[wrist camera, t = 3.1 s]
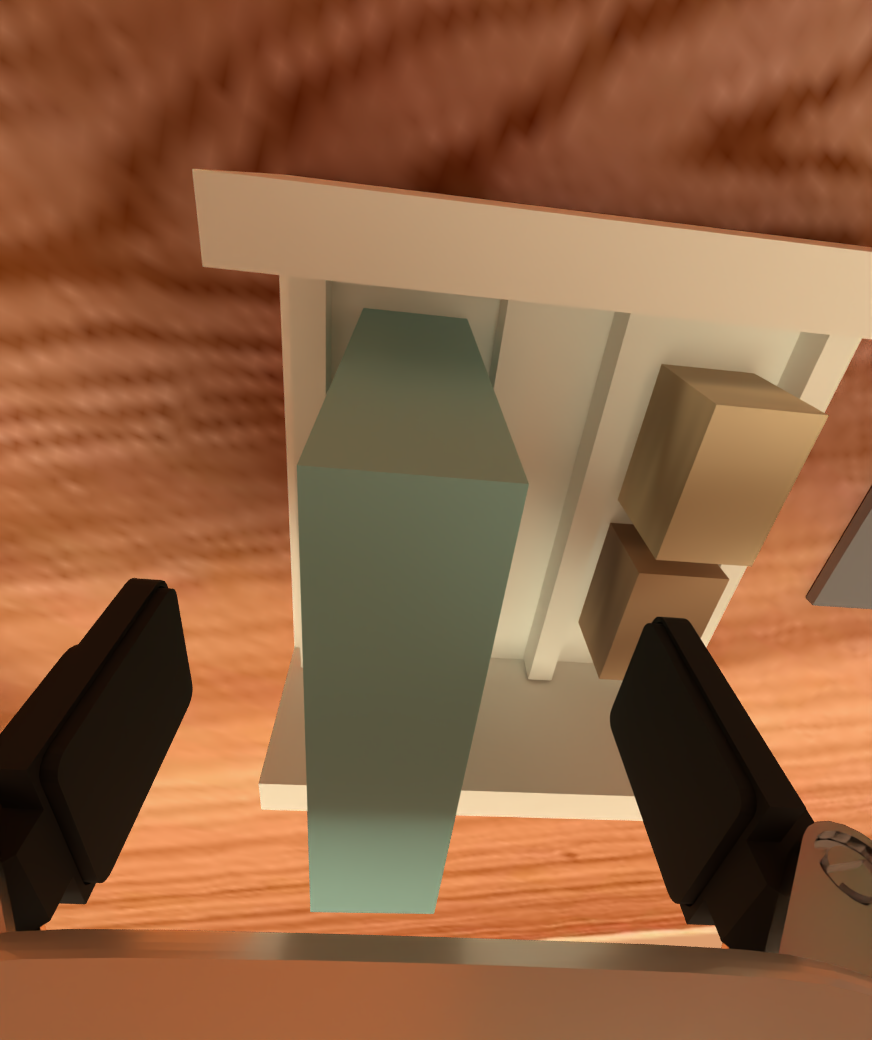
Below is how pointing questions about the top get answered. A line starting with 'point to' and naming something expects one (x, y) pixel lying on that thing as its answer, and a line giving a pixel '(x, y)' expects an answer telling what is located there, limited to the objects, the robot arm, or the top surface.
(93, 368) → the top surface
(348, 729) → the teal panel
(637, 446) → the pine offcut
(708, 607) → the walnut offcut
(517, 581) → the rack
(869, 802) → the top surface
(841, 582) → the charcoal mat
